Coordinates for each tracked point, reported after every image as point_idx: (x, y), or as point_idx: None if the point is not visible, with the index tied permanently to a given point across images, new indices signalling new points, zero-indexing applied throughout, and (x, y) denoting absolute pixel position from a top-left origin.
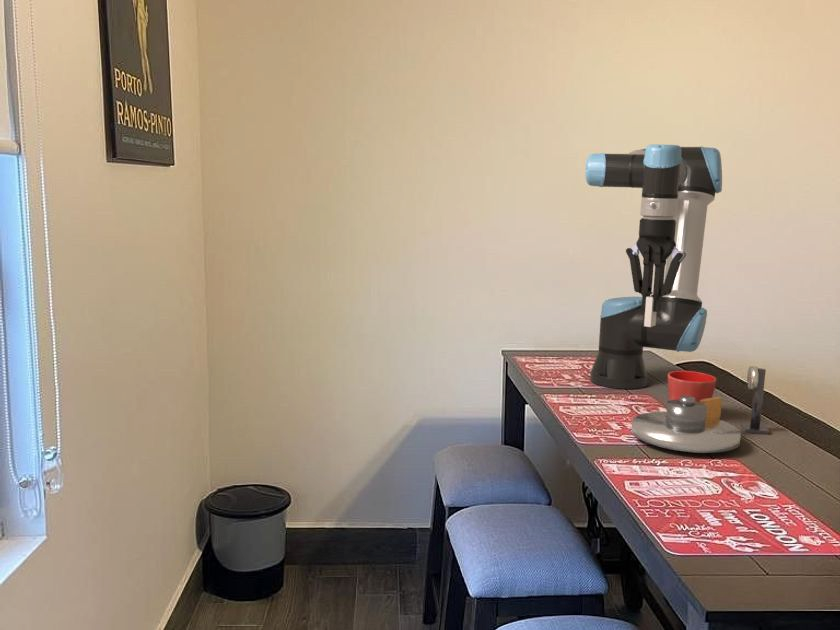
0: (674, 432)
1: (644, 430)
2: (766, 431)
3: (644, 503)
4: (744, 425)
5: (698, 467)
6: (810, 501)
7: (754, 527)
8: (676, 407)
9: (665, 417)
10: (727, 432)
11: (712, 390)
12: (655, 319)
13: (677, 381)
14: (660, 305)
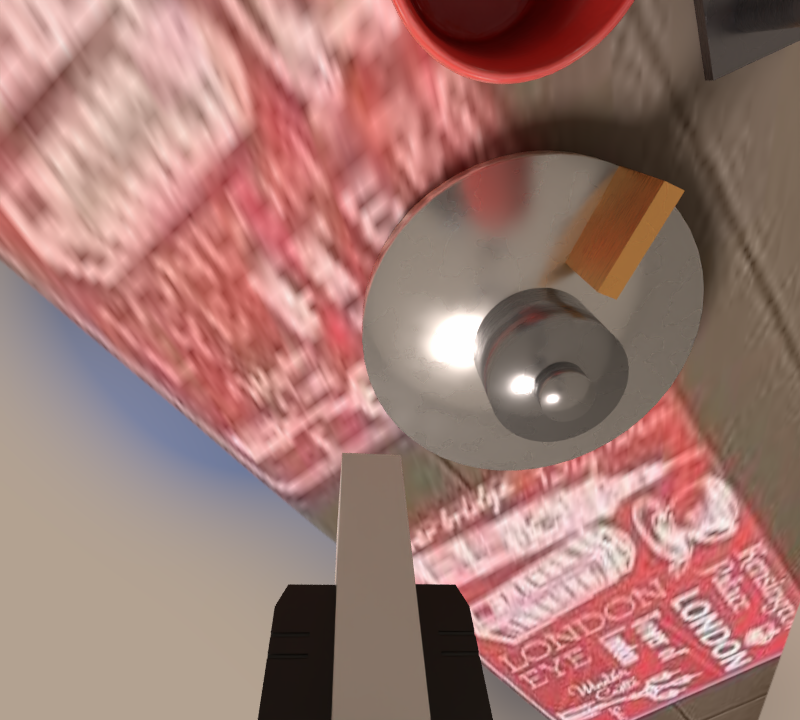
0: None
1: (435, 445)
2: (789, 43)
3: (519, 660)
4: (712, 19)
5: (582, 477)
6: (795, 513)
7: (685, 642)
8: (532, 440)
9: (452, 278)
10: (662, 312)
11: None
12: (403, 500)
13: (463, 75)
14: (474, 654)
